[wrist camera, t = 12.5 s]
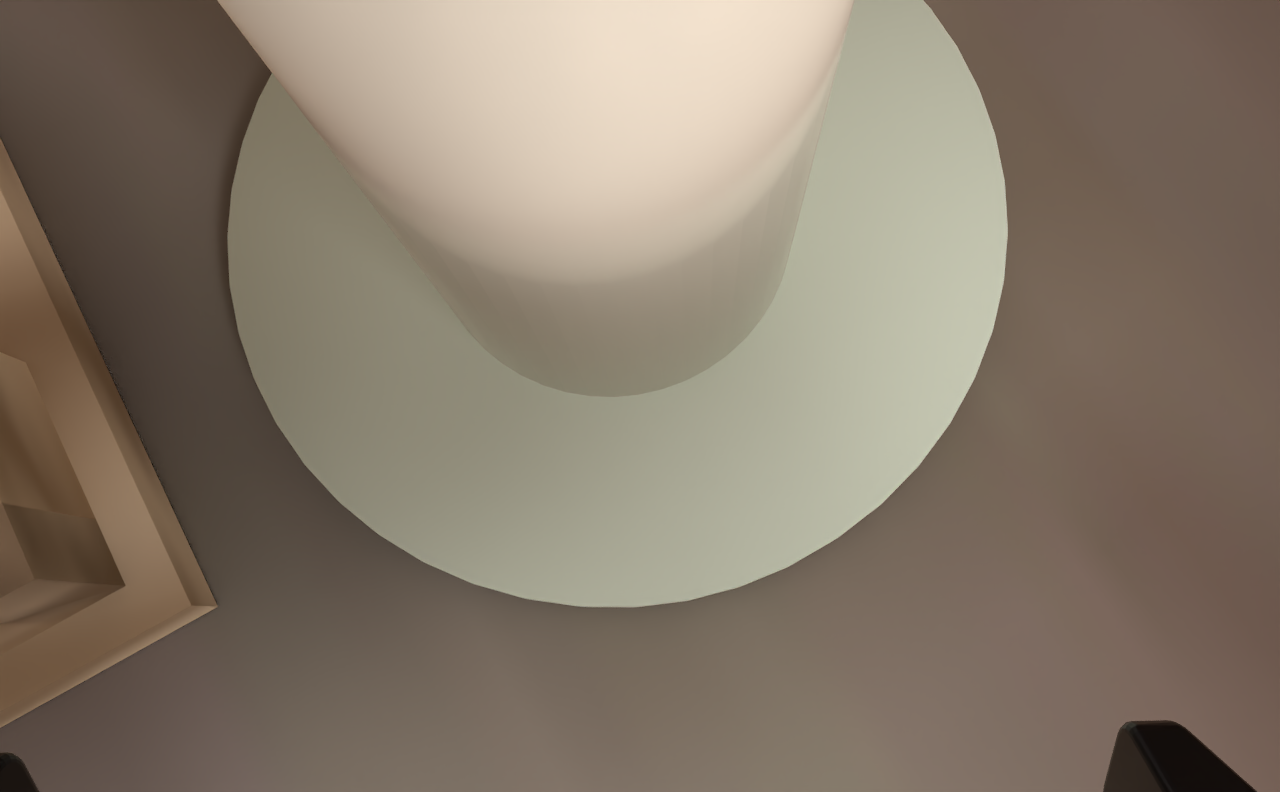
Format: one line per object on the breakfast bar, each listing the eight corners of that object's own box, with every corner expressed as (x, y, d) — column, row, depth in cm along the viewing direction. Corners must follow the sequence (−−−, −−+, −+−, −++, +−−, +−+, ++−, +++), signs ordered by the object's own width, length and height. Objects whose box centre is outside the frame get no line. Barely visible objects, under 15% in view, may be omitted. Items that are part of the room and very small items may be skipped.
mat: (1108, 68, 20) (1130, 39, 19) (794, 751, 18) (800, 759, 17) (468, -197, 21) (457, -236, 20) (113, 396, 19) (82, 383, 18)
